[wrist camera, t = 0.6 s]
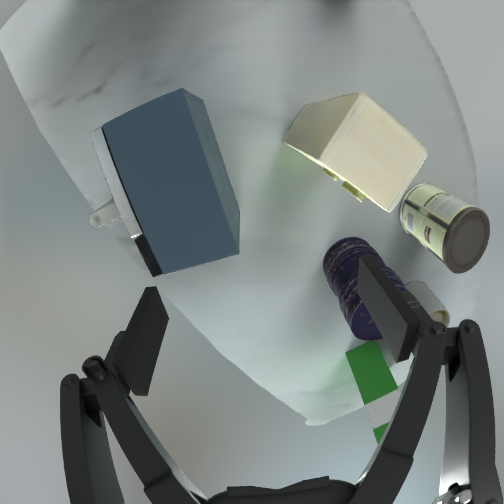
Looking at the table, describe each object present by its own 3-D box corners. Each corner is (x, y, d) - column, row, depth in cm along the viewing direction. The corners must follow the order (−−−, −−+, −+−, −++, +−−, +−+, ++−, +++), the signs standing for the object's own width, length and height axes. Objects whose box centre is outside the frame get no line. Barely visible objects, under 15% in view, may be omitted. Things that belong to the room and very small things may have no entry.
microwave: (172, 233, 43) (146, 280, 30) (132, 128, 35) (84, 135, 22) (240, 212, 42) (239, 254, 29) (202, 99, 34) (182, 87, 21)
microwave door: (128, 215, 41) (89, 253, 29) (100, 144, 35) (48, 159, 23) (171, 198, 40) (142, 233, 28) (144, 123, 35) (100, 126, 22)
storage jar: (310, 265, 46) (335, 323, 33) (351, 224, 43) (392, 270, 30) (345, 294, 49) (373, 350, 36) (382, 258, 46) (423, 307, 33)
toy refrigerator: (276, 144, 37) (312, 168, 18) (302, 104, 34) (363, 88, 16) (321, 172, 39) (387, 222, 20) (346, 134, 36) (432, 152, 18)
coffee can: (446, 215, 43) (493, 247, 30) (410, 245, 45) (452, 286, 33) (430, 171, 39) (484, 195, 26) (390, 203, 42) (438, 237, 29)
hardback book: (385, 373, 63) (414, 444, 41) (361, 385, 64) (386, 458, 43) (374, 338, 56) (414, 424, 34) (345, 352, 57) (376, 441, 36)
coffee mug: (384, 298, 51) (405, 330, 42) (422, 272, 48) (448, 300, 39) (399, 332, 56) (417, 362, 47) (432, 310, 53) (453, 337, 44)
